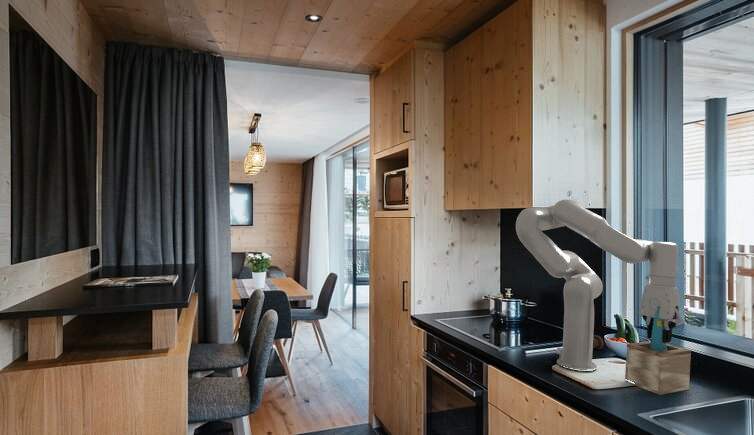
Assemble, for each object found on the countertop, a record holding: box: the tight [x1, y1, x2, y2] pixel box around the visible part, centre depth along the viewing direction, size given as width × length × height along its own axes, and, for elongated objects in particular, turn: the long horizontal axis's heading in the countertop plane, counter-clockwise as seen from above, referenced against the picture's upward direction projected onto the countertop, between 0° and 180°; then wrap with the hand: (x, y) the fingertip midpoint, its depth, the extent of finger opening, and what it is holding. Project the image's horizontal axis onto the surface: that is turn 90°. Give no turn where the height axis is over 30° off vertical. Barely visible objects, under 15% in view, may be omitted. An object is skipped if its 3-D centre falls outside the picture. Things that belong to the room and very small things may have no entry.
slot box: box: [624, 340, 692, 396], centre depth 150 cm, size 12×14×12 cm
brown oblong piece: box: [593, 334, 605, 351], centre depth 186 cm, size 6×5×15 cm
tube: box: [650, 306, 668, 352], centre depth 149 cm, size 7×5×19 cm, turn 140°
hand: (658, 339), depth 149 cm, fingers closed on tube, 4 cm apart
